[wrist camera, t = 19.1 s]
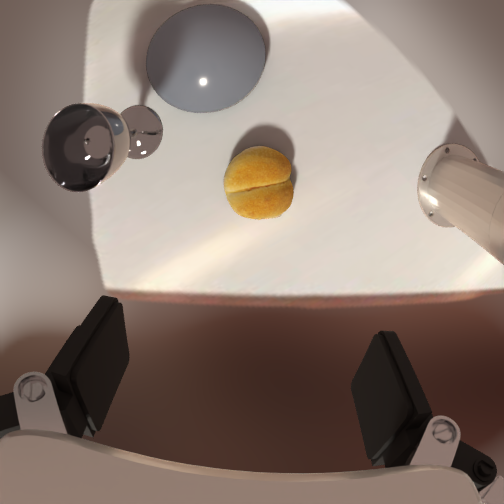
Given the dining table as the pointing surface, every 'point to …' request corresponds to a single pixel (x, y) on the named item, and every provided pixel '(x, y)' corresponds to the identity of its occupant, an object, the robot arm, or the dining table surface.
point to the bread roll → (259, 183)
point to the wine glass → (96, 142)
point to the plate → (205, 58)
